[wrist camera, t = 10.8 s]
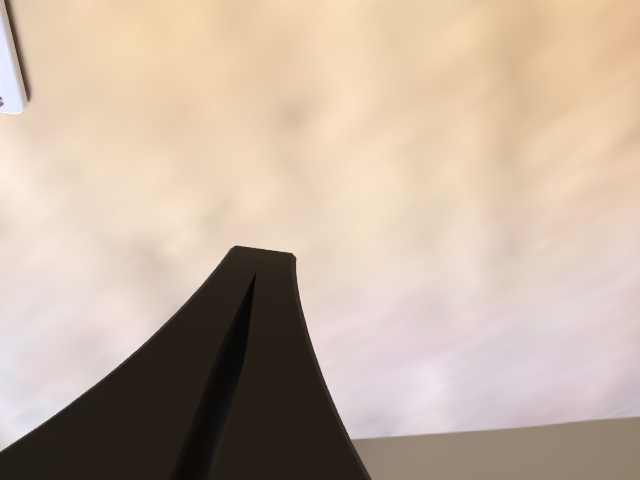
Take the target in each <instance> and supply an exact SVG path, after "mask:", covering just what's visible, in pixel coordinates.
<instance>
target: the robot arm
mask: <svg viewBox="0 0 640 480" xmlns="http://www.w3.org/2000/svg"><path fill="white" fill-rule="evenodd" d="M0 97H1V98H2V99H3V101H4V103H2V102H0V112H4V113H10V114H19V113H21V112H23V111H24V110H26V109H27V107H28V100H27V96H26V92H25V88H24V83H23V79H22V75H21V71H20V67H19V62H18V58H17V54H16V50H15V45H14V41H13V37H12V33H11V28H10V24H9V20H8V16H7V11H6V7H5V3H4V0H0ZM0 480H371V478H370V476H369V474H368V472H367V470H366V468H365V467H364V465H363V463H362V461H361V459H360V457H359V455H358V453H357V451H356V449H355V448H354V446H353V444H352V442H351V440H350V438H349V435H348V433H347V431H346V429H345V427H344V425H343V422H342V420H341V418H340V416H339V414H338V412H337V409H336V407H335V405H334V402H333V400H332V397H331V395H330V393H329V390H328V388H327V385H326V383H325V380H324V378H323V375H322V372H321V370H320V367H319V364H318V361H317V358H316V355H315V352H314V349H313V346H312V343H311V340H310V336H309V333H308V329H307V325H306V322H305V318H304V314H303V310H302V306H301V301H300V296H299V290H298V284H297V276H296V257H295V256H294V255H293V254H292V253H287V252H279V251H272V250H265V249H257V248H250V247H243V246H234V247H233V248H231V249H230V250H229V252H228V253H227V255H226V256H225V257H224V259H223V260H222V261H221V262H220V264H219V265H218V266H217V268H216V269H215V270H214V271H213V272H212V274H211V275H210V276H209V277H208V278H207V280H206V281H205V282H204V283H203V284H202V285H201V287H200V288H199V289H198V290H197V291H196V292H195V293H194V294H193V295H192V296H191V297H190V299H189V300H188V301H187V302H186V303H185V304H184V305H183V306H182V307H181V308H180V309H179V310H178V311H177V312H176V313H175V314H174V315H173V316H172V317H171V318H170V319H169V320H168V321H167V322H166V323H165V324H164V325H163V326H162V327H161V328H160V329H159V330H158V331H157V332H156V333H155V334H154V335H153V336H152V337H151V338H150V339H149V340H148V341H147V342H145V343H144V344H143V345H142V346H141V347H140V348H139V349H138V350H137V351H135V352H134V353H133V354H132V355H131V356H130V357H129V358H127V359H126V360H125V361H124V362H123V363H122V364H120V365H119V366H118V367H117V368H115V369H114V370H113V371H112V372H111V373H109V374H108V375H107V376H106V377H105V378H103V379H102V380H101V381H100V382H98V383H97V384H96V385H94V386H93V387H92V388H90V389H89V390H88V391H86V392H85V393H84V394H82V395H81V396H80V397H79V398H77V399H76V400H75V401H73V402H72V403H71V404H69V405H68V406H67V407H65V408H64V409H63V410H61V411H60V412H58V413H57V414H56V415H54V416H53V417H51V418H50V419H49V420H47V421H46V422H44V423H43V424H42V425H40V426H39V427H37V428H36V429H34V430H33V431H31V432H30V433H28V434H27V435H25V436H24V437H22V438H20V439H19V440H17V441H16V442H14V443H13V444H11V445H10V446H8V447H7V448H5V449H4V450H2V451H1V452H0Z"/></svg>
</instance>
